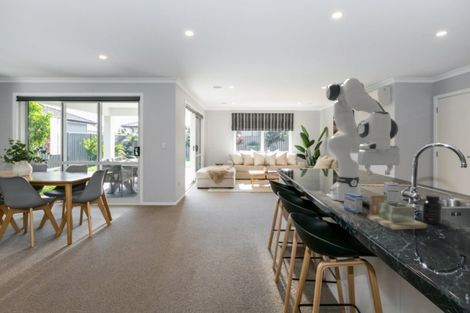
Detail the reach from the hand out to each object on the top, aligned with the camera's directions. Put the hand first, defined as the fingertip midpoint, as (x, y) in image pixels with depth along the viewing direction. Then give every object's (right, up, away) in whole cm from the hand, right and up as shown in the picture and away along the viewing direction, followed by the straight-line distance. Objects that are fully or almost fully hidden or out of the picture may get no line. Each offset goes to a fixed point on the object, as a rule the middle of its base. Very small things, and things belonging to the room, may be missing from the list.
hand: (378, 174), depth 128 cm
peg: (0, -20, +2) cm, 20 cm away
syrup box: (+12, -20, +12) cm, 26 cm away
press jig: (+3, -21, -9) cm, 23 cm away
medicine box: (-8, -19, +10) cm, 23 cm away
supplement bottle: (+19, -21, -8) cm, 29 cm away
